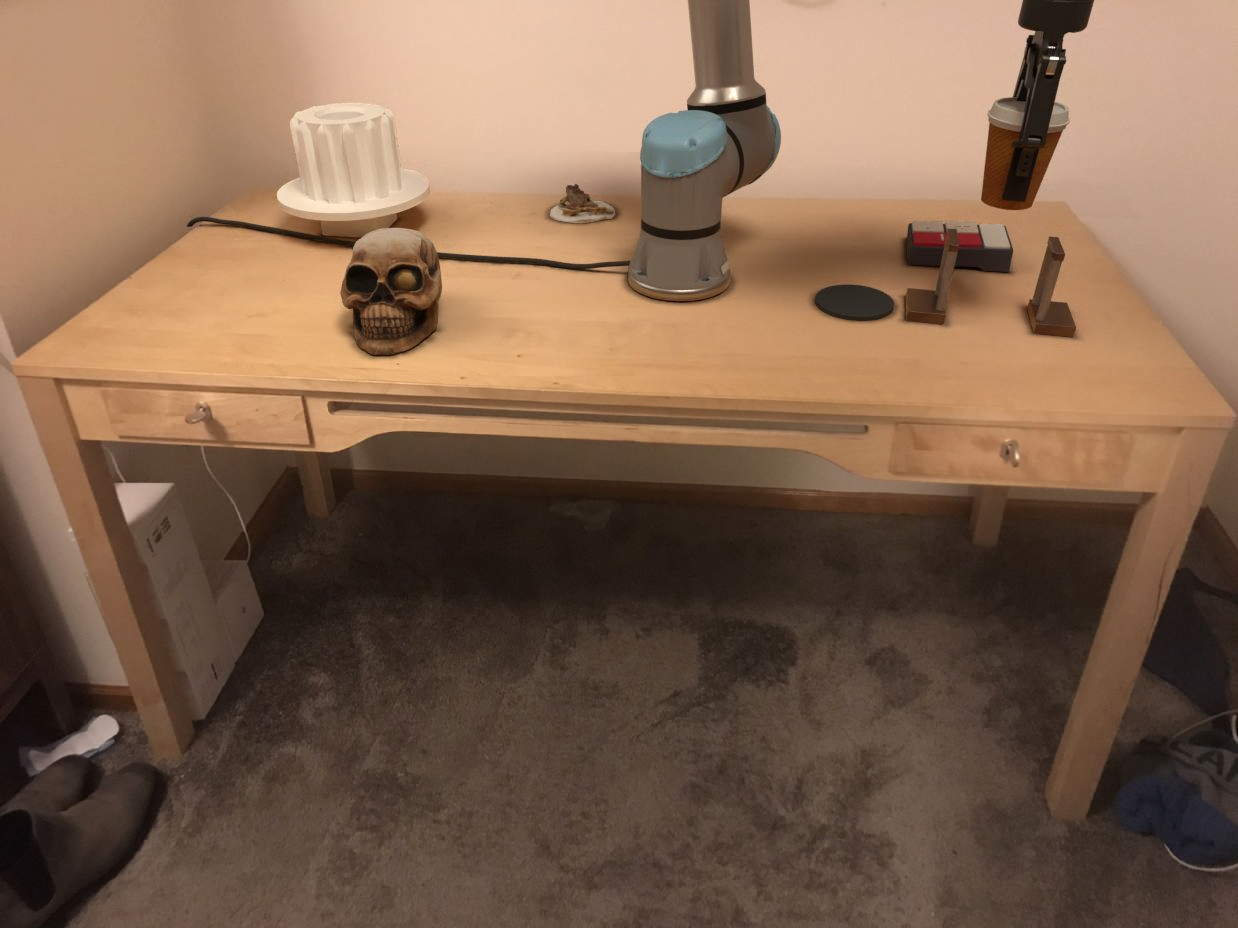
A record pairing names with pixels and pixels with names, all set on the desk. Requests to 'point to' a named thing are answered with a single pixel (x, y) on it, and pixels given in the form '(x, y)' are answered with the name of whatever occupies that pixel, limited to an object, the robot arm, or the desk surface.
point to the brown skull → (392, 290)
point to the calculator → (960, 244)
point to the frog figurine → (581, 208)
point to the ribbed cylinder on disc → (349, 170)
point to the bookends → (1040, 309)
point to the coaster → (854, 302)
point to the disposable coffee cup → (999, 151)
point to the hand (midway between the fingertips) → (1009, 188)
